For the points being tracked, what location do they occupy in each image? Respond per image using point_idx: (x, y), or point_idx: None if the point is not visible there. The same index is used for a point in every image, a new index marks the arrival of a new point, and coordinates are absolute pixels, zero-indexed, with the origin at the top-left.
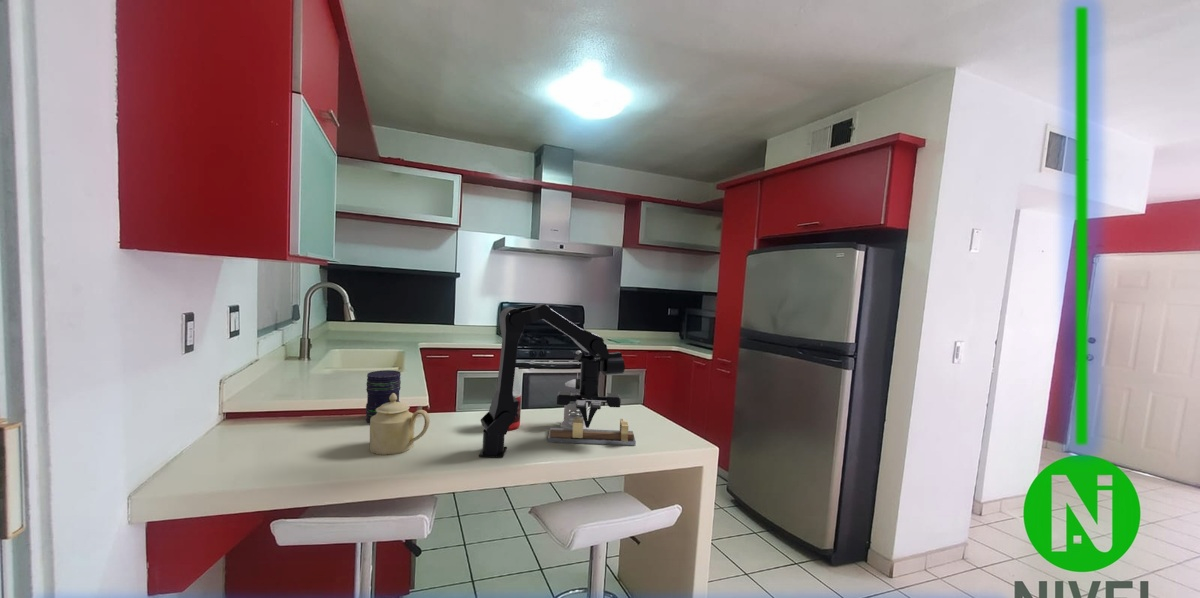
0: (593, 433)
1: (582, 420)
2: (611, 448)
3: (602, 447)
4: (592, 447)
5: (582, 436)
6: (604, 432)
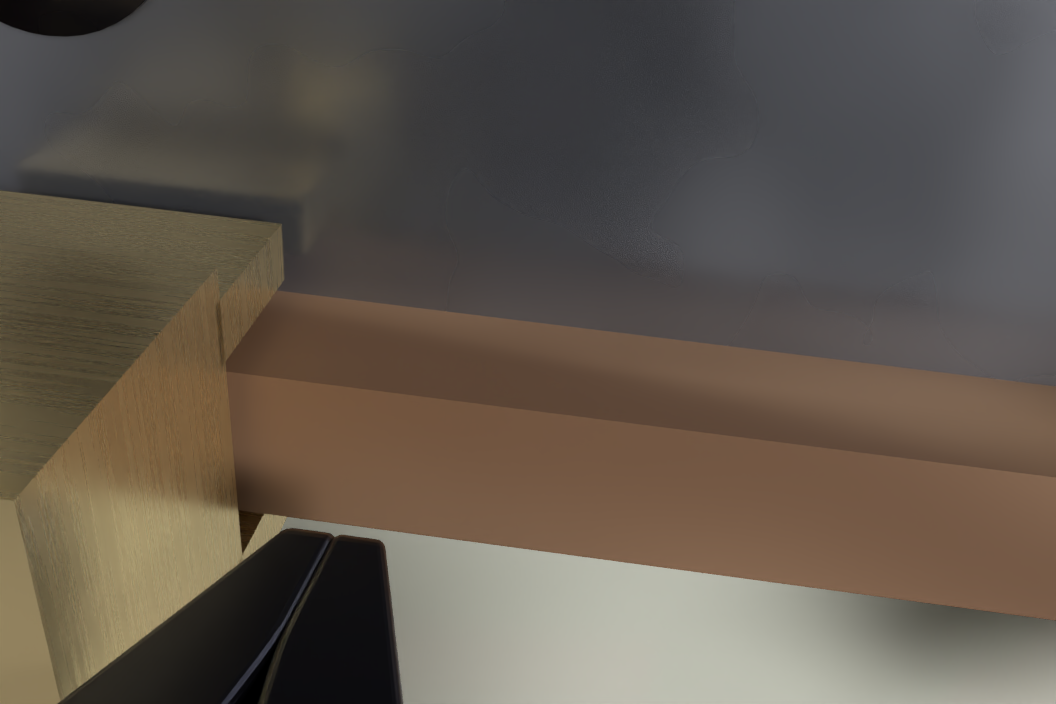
0: (579, 551)
1: (22, 700)
2: (942, 687)
3: (761, 637)
4: (548, 623)
5: (280, 524)
6: (959, 522)
